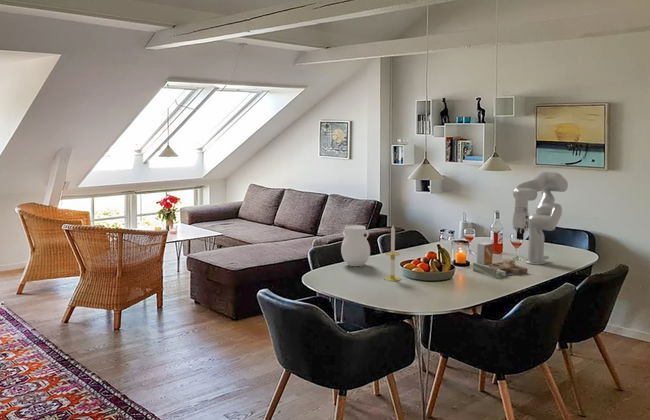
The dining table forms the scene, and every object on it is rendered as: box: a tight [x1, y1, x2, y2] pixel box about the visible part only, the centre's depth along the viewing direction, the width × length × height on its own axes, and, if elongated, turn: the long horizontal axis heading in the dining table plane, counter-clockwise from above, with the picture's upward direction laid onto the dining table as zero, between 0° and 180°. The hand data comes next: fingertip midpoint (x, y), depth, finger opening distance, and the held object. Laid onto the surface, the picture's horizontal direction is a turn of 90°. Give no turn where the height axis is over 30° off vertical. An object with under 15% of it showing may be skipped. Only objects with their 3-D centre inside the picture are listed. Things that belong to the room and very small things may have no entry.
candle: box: [385, 225, 402, 282], centre depth 373 cm, size 10×10×32 cm
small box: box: [476, 242, 494, 265], centre depth 414 cm, size 8×6×13 cm
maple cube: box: [502, 258, 516, 267], centre depth 393 cm, size 5×5×4 cm
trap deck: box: [472, 261, 528, 279], centre depth 391 cm, size 25×20×5 cm
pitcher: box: [340, 224, 371, 267], centre depth 409 cm, size 19×18×25 cm
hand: (519, 239), depth 395 cm, fingers closed
